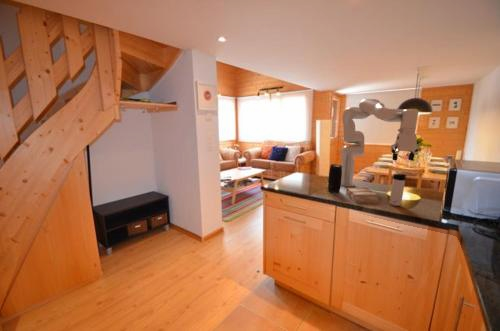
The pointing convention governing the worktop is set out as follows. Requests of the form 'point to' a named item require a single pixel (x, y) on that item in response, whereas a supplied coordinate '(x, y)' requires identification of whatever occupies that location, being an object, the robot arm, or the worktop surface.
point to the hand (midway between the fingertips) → (402, 160)
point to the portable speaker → (335, 178)
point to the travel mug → (397, 189)
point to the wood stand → (361, 195)
